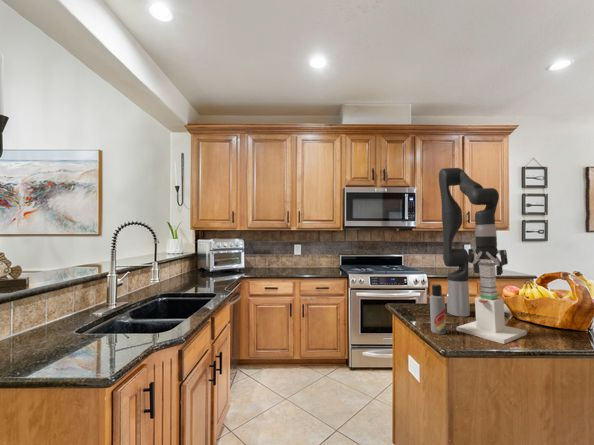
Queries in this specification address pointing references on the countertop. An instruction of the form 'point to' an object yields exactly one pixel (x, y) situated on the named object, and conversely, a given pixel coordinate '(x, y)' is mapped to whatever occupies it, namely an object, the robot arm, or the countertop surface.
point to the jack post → (488, 280)
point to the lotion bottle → (437, 310)
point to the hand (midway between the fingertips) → (487, 274)
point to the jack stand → (491, 322)
